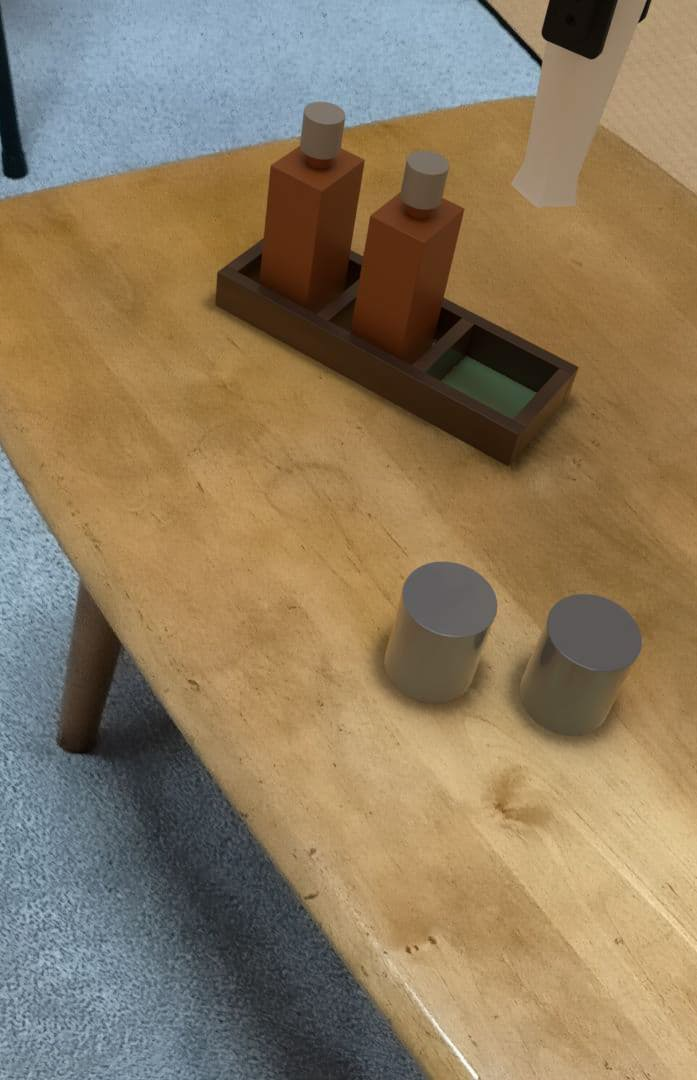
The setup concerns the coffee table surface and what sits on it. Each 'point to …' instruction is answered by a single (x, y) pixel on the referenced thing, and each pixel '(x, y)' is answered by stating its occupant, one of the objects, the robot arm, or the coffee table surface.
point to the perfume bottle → (571, 112)
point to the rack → (451, 404)
